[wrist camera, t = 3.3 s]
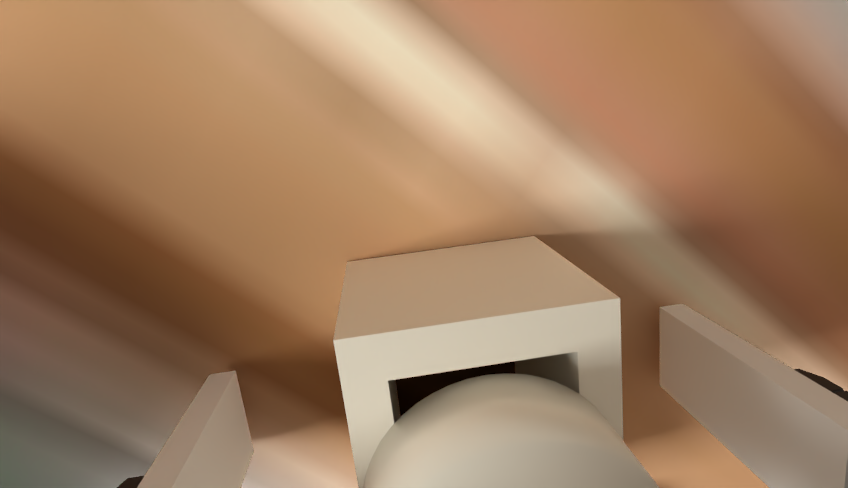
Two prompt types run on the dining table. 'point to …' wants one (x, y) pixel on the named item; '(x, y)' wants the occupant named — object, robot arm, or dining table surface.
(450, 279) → the knob
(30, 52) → the dining table surface
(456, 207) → the dining table surface
